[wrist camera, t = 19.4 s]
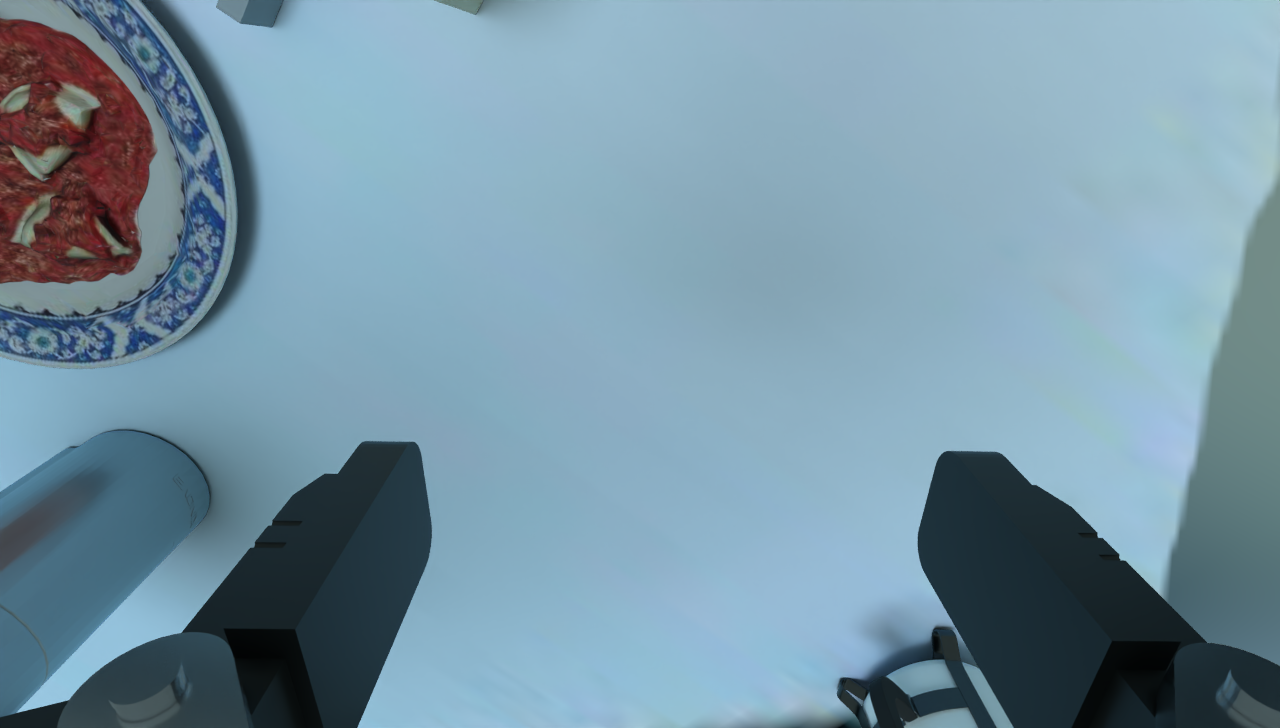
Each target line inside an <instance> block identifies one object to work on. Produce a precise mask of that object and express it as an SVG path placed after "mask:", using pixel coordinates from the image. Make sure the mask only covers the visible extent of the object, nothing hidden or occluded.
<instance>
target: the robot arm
mask: <svg viewBox="0 0 1280 728" xmlns="http://www.w3.org/2000/svg"><path fill="white" fill-rule="evenodd" d="M209 500H210V495H209V490H208V485H207V483H206V481H205V479H204V477H203V475H202V473H201V472H200V470H199V469H198V468H197V466H196V465H195V464H194V463H193V462H192V461H191V460H190V459H189V458H188V457H187V456H186V455H185V454H184V453H183V452H181V451H180V450H178V449H177V448H176V447H174V446H173V445H171V444H169V443H167V442H165V441H163V440H161V439H159V438H157V437H154V436H151V435H148V434H145V433H140V432H134V431H111V432H105V433H102V434H100V435H97V436H95V437H93V438H91V439H90V440H88V441H87V442H85V443H84V444H82V445H81V446H79V447H78V448H66V449H64V450H63V451H61V452H60V453H58V454H57V455H55V456H54V457H52V458H51V459H49V460H48V461H46V462H45V463H43V464H42V465H40V466H39V467H37V468H36V469H34V470H33V471H31V472H30V473H28V474H27V475H25V476H24V477H22V478H21V479H19V480H18V481H16V482H15V483H13V484H12V485H10V486H9V487H7V488H6V489H4V490H3V491H1V492H0V728H357V727H358V725H359V722H360V720H361V718H362V715H363V713H364V711H365V708H366V706H367V703H368V701H369V699H370V696H371V694H372V692H373V689H374V687H375V685H376V682H377V680H378V678H379V675H380V673H381V671H382V668H383V666H384V663H385V661H386V659H387V656H388V654H389V652H390V649H391V647H392V645H393V642H394V640H395V638H396V635H397V633H398V630H399V628H400V626H401V623H402V621H403V619H404V616H405V614H406V612H407V609H408V607H409V605H410V602H411V600H412V598H413V595H414V593H415V590H416V588H417V586H418V583H419V581H420V579H421V576H422V574H423V572H424V569H425V567H426V564H427V561H428V558H429V553H430V548H431V538H432V525H431V517H430V510H429V504H428V497H427V490H426V484H425V477H424V470H423V463H422V457H421V452H420V449H419V447H418V445H417V444H416V443H415V442H382V441H365V442H362V443H361V444H360V445H359V446H358V447H357V449H356V450H355V451H354V453H353V454H352V455H351V457H350V458H349V459H348V461H347V462H346V463H345V465H344V466H343V467H342V469H341V470H340V472H339V473H338V474H324V475H322V476H321V477H319V478H318V479H316V480H315V481H313V482H312V483H310V484H309V485H307V486H306V487H304V488H303V489H301V490H300V491H298V492H297V493H295V494H294V495H293V496H292V497H291V498H290V499H289V501H288V502H287V503H286V504H285V506H284V507H283V508H282V509H281V511H280V512H279V513H278V514H277V515H276V517H275V518H274V519H273V520H272V521H273V523H272V526H268V527H267V528H266V529H265V530H264V532H263V533H262V534H261V535H260V536H259V538H258V539H257V540H256V541H255V547H254V548H250V549H249V550H248V551H247V553H246V554H245V555H244V556H243V557H242V559H241V560H240V561H239V562H238V564H237V565H236V566H235V567H234V569H233V570H232V571H231V572H230V574H229V575H228V576H227V577H226V578H225V580H224V581H223V582H222V583H221V585H220V586H219V587H218V588H217V590H216V591H215V592H214V593H213V595H212V596H211V597H210V598H209V599H208V601H207V602H206V603H205V604H204V606H203V607H202V608H201V609H200V611H199V612H198V613H197V614H196V616H195V617H194V618H193V619H192V620H191V622H190V623H189V624H188V625H187V627H186V628H185V629H184V630H183V632H182V633H179V634H173V635H169V636H165V637H161V638H158V639H155V640H153V641H150V642H147V643H145V644H142V645H140V646H138V647H136V648H133V649H131V650H130V651H128V652H126V653H124V654H122V655H120V656H119V657H117V658H115V659H114V660H112V661H111V662H109V663H108V664H106V665H105V666H103V667H102V668H101V669H100V670H98V671H97V672H96V673H95V674H93V675H92V676H91V677H90V678H89V679H88V680H87V681H86V682H85V683H84V684H82V685H81V686H80V688H79V689H78V690H77V691H76V692H75V693H74V695H73V696H72V697H71V698H70V700H68V701H64V702H60V703H56V704H52V705H48V706H44V707H40V708H36V709H32V710H27V711H23V712H19V713H16V712H17V711H18V710H19V709H20V708H21V707H22V706H23V705H24V704H25V703H26V702H27V701H28V700H29V699H30V698H31V697H32V696H33V695H34V694H35V693H36V692H37V691H38V690H39V689H40V687H41V686H42V685H43V684H44V683H45V682H46V681H47V680H48V679H49V678H50V677H51V676H52V675H53V674H54V673H55V672H56V671H57V670H58V669H59V668H60V667H61V665H62V664H63V663H64V662H65V661H66V660H67V659H68V658H69V657H70V656H71V655H72V654H73V653H74V652H75V651H76V650H77V649H78V648H79V647H80V646H81V645H82V644H83V643H84V642H85V641H86V640H87V639H88V638H89V637H90V636H91V634H92V633H93V632H94V631H95V630H96V629H97V628H98V627H99V626H100V625H101V624H102V623H103V622H104V621H105V620H106V619H107V618H108V617H109V616H110V615H111V614H112V613H113V612H114V611H115V610H116V609H117V608H118V607H119V606H120V605H121V603H122V602H123V601H124V600H125V599H126V598H127V597H128V596H129V595H130V594H131V593H132V592H133V591H134V590H135V589H136V588H137V587H138V586H139V585H140V584H141V583H142V582H143V581H144V580H145V579H146V578H147V577H148V576H149V575H150V574H151V572H152V571H153V570H154V569H155V568H156V567H157V566H158V565H159V564H160V563H161V562H162V561H163V560H164V559H165V558H166V557H167V556H168V555H169V554H170V553H171V552H172V551H173V550H174V549H175V548H176V547H177V546H178V545H179V544H180V543H181V542H182V541H183V540H184V538H185V537H186V536H187V535H188V534H189V533H190V532H191V531H192V530H193V529H194V528H195V527H196V526H197V525H198V524H199V523H200V522H201V520H202V519H203V518H204V517H205V515H206V513H207V510H208V508H209ZM918 553H919V558H920V562H921V566H922V568H923V571H924V573H925V575H926V576H927V578H928V580H929V582H930V583H931V585H932V587H933V589H934V590H935V592H936V594H937V596H938V597H939V599H940V601H941V602H942V604H943V606H944V608H945V609H946V611H947V613H948V615H949V616H950V618H951V620H952V622H953V623H954V625H955V627H956V629H957V630H958V632H959V634H960V636H961V637H962V639H963V641H964V642H965V644H966V646H967V648H968V649H969V651H970V653H971V655H972V656H973V658H974V660H975V662H976V663H977V665H978V667H979V669H980V670H981V672H982V674H983V676H984V677H985V679H986V681H987V682H988V684H989V686H990V688H991V689H992V691H993V693H994V695H995V696H996V698H997V700H998V702H999V703H1000V705H1001V707H1002V709H1003V710H1004V712H1005V714H1006V715H1007V717H1008V719H1009V721H1010V722H1011V724H1012V726H1013V728H1280V666H1279V665H1277V664H1275V663H1273V662H1271V661H1269V660H1267V659H1264V658H1262V657H1260V656H1258V655H1255V654H1253V653H1250V652H1247V651H1244V650H1241V649H1238V648H1234V647H1231V646H1226V645H1221V644H1215V643H1207V642H1206V641H1205V640H1204V639H1203V638H1202V637H1201V636H1200V635H1199V634H1198V633H1197V632H1196V631H1195V630H1194V629H1193V628H1192V627H1191V626H1190V625H1189V624H1188V623H1187V622H1186V621H1185V620H1184V619H1183V618H1182V617H1181V616H1180V615H1179V614H1178V613H1177V612H1176V611H1175V610H1174V609H1173V608H1172V607H1171V606H1170V605H1169V604H1168V603H1167V602H1166V601H1165V600H1164V599H1163V598H1162V597H1161V596H1160V595H1159V594H1158V593H1157V592H1156V591H1155V590H1154V589H1153V588H1152V587H1151V586H1150V585H1149V584H1148V583H1147V582H1146V581H1145V580H1144V579H1143V578H1142V577H1141V576H1140V575H1139V574H1138V573H1137V572H1136V571H1135V570H1134V569H1133V568H1132V567H1131V566H1130V565H1129V564H1128V563H1127V562H1126V561H1121V560H1120V559H1119V554H1118V553H1117V552H1116V551H1115V550H1114V549H1113V548H1112V547H1111V546H1110V545H1109V544H1108V543H1107V542H1106V541H1105V540H1104V539H1103V538H1098V536H1097V532H1096V531H1095V530H1094V529H1093V528H1092V527H1091V526H1090V525H1089V524H1088V523H1087V522H1086V521H1085V520H1084V519H1083V518H1082V517H1081V516H1080V515H1079V514H1078V513H1077V512H1076V511H1075V510H1074V509H1073V508H1072V507H1071V506H1069V505H1067V504H1066V503H1064V502H1063V501H1061V500H1059V499H1058V498H1056V497H1054V496H1053V495H1051V494H1050V493H1048V492H1046V491H1045V490H1043V489H1042V488H1040V487H1038V486H1037V485H1031V484H1030V483H1029V481H1028V480H1027V479H1026V478H1025V477H1024V476H1023V475H1022V474H1021V473H1020V472H1019V471H1018V470H1017V469H1016V468H1015V467H1014V466H1013V465H1012V464H1011V463H1010V462H1009V461H1008V460H1007V458H1006V457H1004V456H1003V455H1002V454H1000V453H998V452H973V451H946V452H944V453H943V454H941V456H940V457H939V458H938V461H937V463H936V466H935V470H934V474H933V478H932V481H931V485H930V489H929V493H928V497H927V501H926V504H925V508H924V512H923V516H922V520H921V524H920V527H919V532H918Z"/></svg>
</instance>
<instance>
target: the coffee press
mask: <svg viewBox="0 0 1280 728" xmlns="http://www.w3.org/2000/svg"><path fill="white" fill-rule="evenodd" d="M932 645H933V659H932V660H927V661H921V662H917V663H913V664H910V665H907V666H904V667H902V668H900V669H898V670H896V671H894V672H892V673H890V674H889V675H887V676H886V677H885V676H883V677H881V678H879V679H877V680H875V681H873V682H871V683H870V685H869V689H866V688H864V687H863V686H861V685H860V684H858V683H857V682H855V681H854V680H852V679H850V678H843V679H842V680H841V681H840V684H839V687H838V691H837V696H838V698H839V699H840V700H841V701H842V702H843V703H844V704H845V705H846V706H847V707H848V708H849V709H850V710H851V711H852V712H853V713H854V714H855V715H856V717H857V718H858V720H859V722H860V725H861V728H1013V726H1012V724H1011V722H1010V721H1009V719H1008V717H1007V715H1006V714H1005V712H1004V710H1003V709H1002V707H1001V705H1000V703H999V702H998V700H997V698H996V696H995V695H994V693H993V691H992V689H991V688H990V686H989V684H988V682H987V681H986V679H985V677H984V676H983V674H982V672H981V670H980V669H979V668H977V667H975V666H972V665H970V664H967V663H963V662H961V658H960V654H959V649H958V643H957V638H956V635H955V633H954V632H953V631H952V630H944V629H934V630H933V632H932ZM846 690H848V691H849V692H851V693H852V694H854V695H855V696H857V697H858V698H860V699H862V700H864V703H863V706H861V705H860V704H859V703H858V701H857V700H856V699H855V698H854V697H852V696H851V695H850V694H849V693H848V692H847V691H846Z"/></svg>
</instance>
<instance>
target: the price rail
mask: <svg viewBox="0 0 1280 728" xmlns="http://www.w3.org/2000/svg"><path fill="white" fill-rule="evenodd" d="M282 2H283V0H218V3H217V6H216V8H218V9H219V10H221V11H222V12H224V13H225V14H227V15H228V16H230V17H231V18H233V19H234V20H236V21H237V22H239V23H241V24H249V25H257V26H265V27H272V26H273V24H274V21H275V19H276V16H277V14H278V11H279V9H280V6H281V4H282Z"/></svg>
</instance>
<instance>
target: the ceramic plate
mask: <svg viewBox="0 0 1280 728" xmlns="http://www.w3.org/2000/svg"><path fill="white" fill-rule="evenodd" d="M237 217H238V210H237V196H236V187H235V181H234V175H233V169H232V164H231V161H230V157H229V153H228V149H227V146H226V142H225V139H224V137H223V134H222V131H221V128H220V125H219V123H218V120H217V117H216V115H215V113H214V111H213V109H212V106H211V104H210V102H209V100H208V98H207V95H206V93H205V91H204V90H203V88H202V86H201V84H200V82H199V81H198V79H197V77H196V75H195V73H194V71H193V70H192V68H191V66H190V65H189V63H188V62H187V60H186V59H185V57H184V56H183V54H182V53H181V51H180V50H179V48H178V47H177V45H176V44H175V42H174V41H173V39H172V38H171V36H170V35H169V34H168V32H167V31H166V30H165V28H164V27H163V26H162V25H161V24H160V23H159V21H158V20H157V19H156V18H155V17H154V16H153V14H152V13H151V12H150V11H149V10H148V9H147V7H146V6H145V5H144V4H143V3H142V2H141V0H0V357H3V358H6V359H10V360H14V361H19V362H23V363H27V364H33V365H39V366H45V367H53V368H66V369H93V368H103V367H112V366H117V365H122V364H126V363H130V362H134V361H137V360H140V359H143V358H146V357H148V356H151V355H153V354H155V353H157V352H159V351H162V350H163V349H165V348H167V347H168V346H170V345H172V344H173V343H175V342H177V341H178V340H179V339H181V338H182V337H183V336H184V335H186V334H187V333H188V332H189V331H191V330H192V329H193V328H194V326H195V325H196V324H197V323H198V322H199V321H200V320H201V319H202V318H203V317H204V316H205V315H206V313H207V312H208V311H209V309H210V308H211V307H212V305H213V304H214V302H215V301H216V299H217V297H218V295H219V293H220V292H221V290H222V288H223V286H224V283H225V281H226V278H227V276H228V273H229V270H230V267H231V263H232V259H233V255H234V250H235V243H236V236H237Z"/></svg>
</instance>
